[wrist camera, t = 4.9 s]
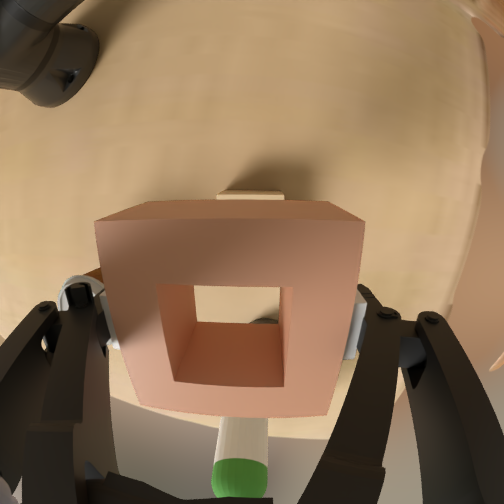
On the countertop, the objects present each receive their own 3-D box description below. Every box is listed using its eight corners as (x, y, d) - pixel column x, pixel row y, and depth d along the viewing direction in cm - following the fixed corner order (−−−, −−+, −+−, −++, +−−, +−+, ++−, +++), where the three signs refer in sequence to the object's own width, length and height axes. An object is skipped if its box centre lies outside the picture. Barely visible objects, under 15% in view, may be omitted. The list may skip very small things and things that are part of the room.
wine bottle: (273, 405, 44) (275, 554, 16) (234, 413, 45) (218, 553, 17) (258, 379, 42) (252, 549, 14) (217, 388, 43) (187, 545, 15)
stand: (224, 190, 33) (216, 194, 28) (280, 190, 33) (284, 195, 27) (225, 244, 35) (218, 259, 30) (279, 245, 35) (282, 259, 29)
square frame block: (147, 201, 13) (94, 221, 8) (328, 201, 13) (365, 221, 8) (166, 348, 16) (140, 404, 11) (312, 353, 15) (326, 415, 11)
